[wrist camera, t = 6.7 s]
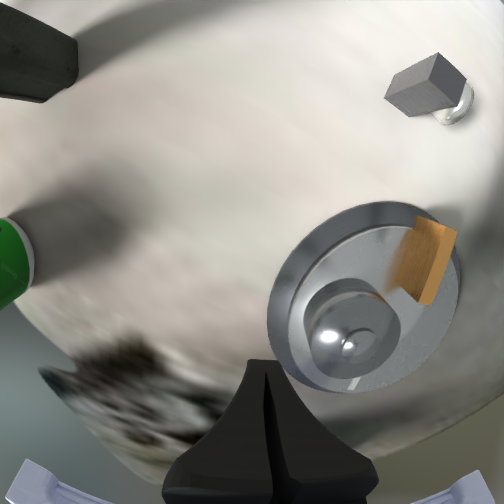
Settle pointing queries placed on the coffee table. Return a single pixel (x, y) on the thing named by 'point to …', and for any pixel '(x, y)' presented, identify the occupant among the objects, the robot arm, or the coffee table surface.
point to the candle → (34, 57)
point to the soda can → (14, 262)
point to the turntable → (386, 295)
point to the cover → (350, 328)
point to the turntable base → (311, 251)
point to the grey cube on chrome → (431, 90)
